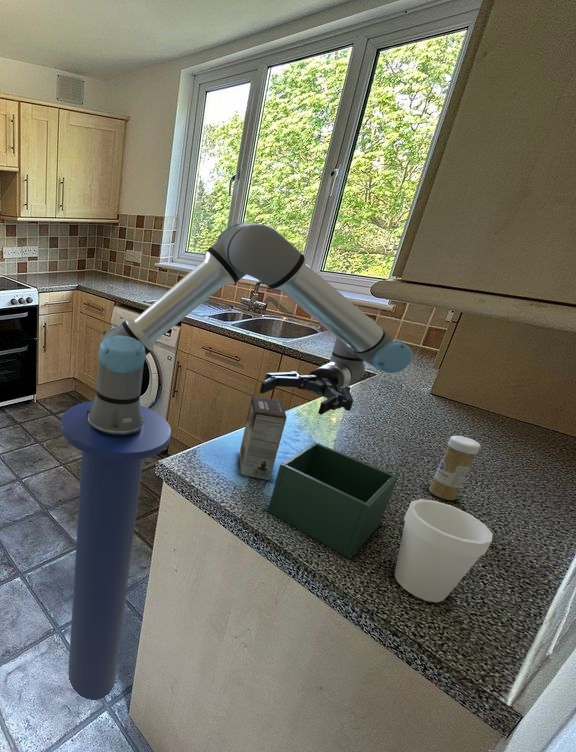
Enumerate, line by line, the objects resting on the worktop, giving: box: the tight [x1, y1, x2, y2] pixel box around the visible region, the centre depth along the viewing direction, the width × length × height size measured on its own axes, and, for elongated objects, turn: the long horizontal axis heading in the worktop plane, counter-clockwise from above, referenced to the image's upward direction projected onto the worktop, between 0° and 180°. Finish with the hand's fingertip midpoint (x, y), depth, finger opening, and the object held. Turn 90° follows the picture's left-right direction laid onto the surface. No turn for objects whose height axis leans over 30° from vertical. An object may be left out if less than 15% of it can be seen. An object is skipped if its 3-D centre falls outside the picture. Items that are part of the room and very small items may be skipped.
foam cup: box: [394, 498, 493, 603], centre depth 63 cm, size 10×9×13 cm
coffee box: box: [238, 395, 287, 481], centre depth 92 cm, size 9×6×16 cm
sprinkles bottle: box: [428, 435, 481, 501], centre depth 85 cm, size 5×5×14 cm
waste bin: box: [267, 441, 399, 559], centre depth 77 cm, size 15×15×11 cm
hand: (290, 398), depth 95 cm, fingers open, 13 cm apart
